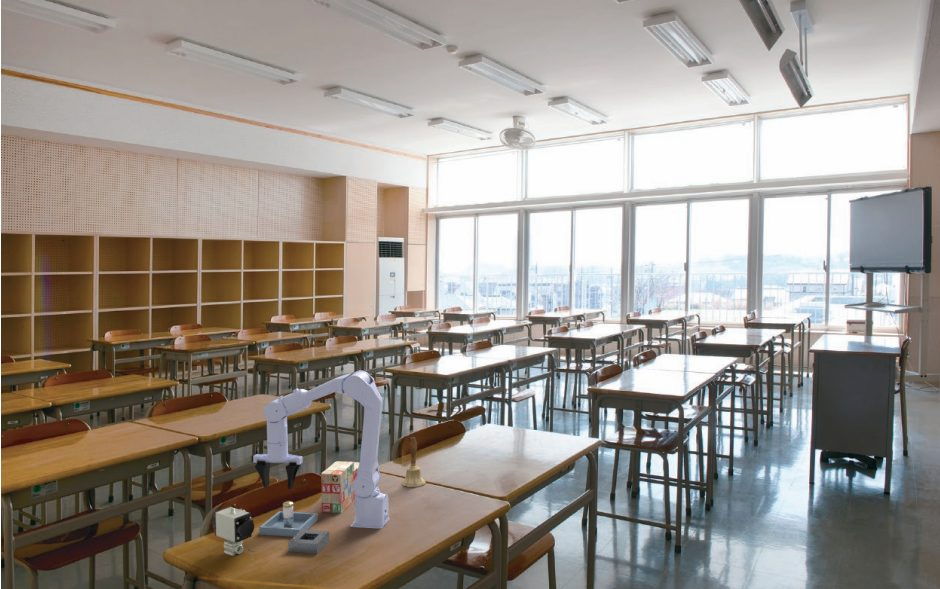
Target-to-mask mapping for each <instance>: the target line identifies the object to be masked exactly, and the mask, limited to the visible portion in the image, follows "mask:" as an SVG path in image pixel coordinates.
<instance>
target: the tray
mask: <svg viewBox="0 0 940 589" xmlns="http://www.w3.org/2000/svg"><path fill="white" fill-rule="evenodd" d="M293 514H294V527H293V528H284V520H283V510H279V511H277V512H276V513H275V514H274V515H272V516H271V517H270V518H268V519H267V520H266V521H265V522H263V524H261V525H260V526H259V527H258V530H259V531H258V532H259V533H258V534H259V535H263V536H264V535H265V536H276V537H277V536H279V537H292V538H293V537H294V536H295V535H296V534H297V533H298V532H300V531H301V530H310V528H311V527H312V526H313V525H314V524H316V522H317V521H318V519H319V518H318V513H317V512H316V513H315V512H302V511H301V512H300V511H293Z"/></svg>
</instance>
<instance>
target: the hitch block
mask: <svg viewBox="0 0 940 589" xmlns="http://www.w3.org/2000/svg"><path fill="white" fill-rule="evenodd" d="M329 542H330V531H326V530H312V529H308V530H301V531H300V532H298V533H297V534H296V535H295V536H294V537H292V538H291V539H290V540H289V541H288V542H287V543H288V548H287V549H288V552H291V553H304V554H319V553H320V551H321V550H322V549H324V547H325V546H326V545H327V544H328V543H329Z"/></svg>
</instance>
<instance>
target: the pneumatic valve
mask: <svg viewBox="0 0 940 589" xmlns="http://www.w3.org/2000/svg"><path fill="white" fill-rule="evenodd" d="M211 525H212V527H213V528H214V535H215V536H217V537H219V538H221V539H224V542H223V548H224V550H223V553H224V554H226V555H229V556H236V555H240V554H241V553H243V552H244V545H243V543H244V540H247V539H249V538H251V537H252V536H253V535H252V534H253V533H254V531H255V523H254V519H252V513H251V512H247V511H246V510H245V509H242V508H239V509H238V508H234V507H232V506H228V507H224V508H221V509H219V510H217V511H214V515H213V517H212V519H211Z"/></svg>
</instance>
